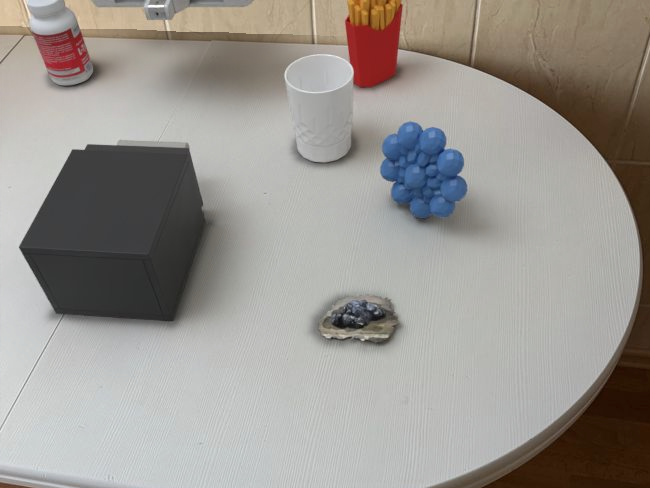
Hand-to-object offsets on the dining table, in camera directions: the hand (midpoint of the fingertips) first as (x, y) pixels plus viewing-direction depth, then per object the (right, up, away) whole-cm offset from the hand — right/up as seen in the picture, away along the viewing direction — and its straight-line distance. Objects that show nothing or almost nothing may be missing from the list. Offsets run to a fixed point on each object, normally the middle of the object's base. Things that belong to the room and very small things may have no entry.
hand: (157, 14), depth 80 cm
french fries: (+26, -1, +16) cm, 31 cm away
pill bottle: (-17, +1, +20) cm, 26 cm away
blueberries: (+22, -36, -10) cm, 44 cm away
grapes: (+31, -23, -1) cm, 38 cm away
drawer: (-1, -25, -2) cm, 25 cm away
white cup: (+19, -13, +7) cm, 24 cm away
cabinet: (-2, -29, -4) cm, 30 cm away
